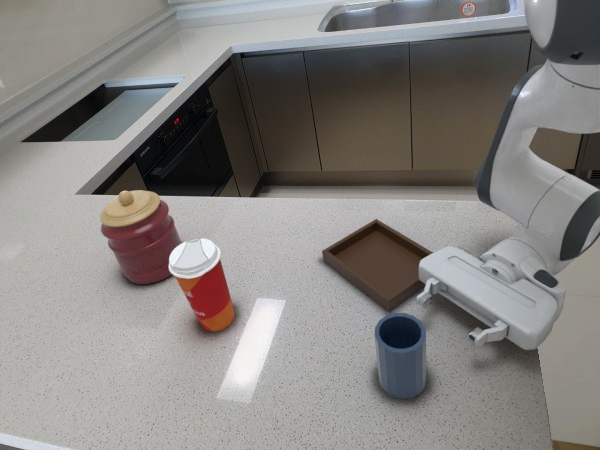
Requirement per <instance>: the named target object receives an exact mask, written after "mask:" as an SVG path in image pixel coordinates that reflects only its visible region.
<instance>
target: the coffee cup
mask: <svg viewBox="0 0 600 450" xmlns="http://www.w3.org/2000/svg"><path fill="white" fill-rule="evenodd" d="M182 242H183V243H182V244H180V245H178V246H177V247H176V248H175V249H174V250H173V251H172V252H171V254H170V257H169V270H170V272H171V273H172V275H173V276H174V277H175V279H176V281H177V283H178V285H179V287H180V289H181V291H182V293H183V294H184V296H185V298H186V300H187V302H188V304H189V306H190V307H191V310H192V311H193V313H194V315H195V317H196V318H197V320H198V322H199V324H200V326H201V327H202V328H203V329H204V330H205V331H207V332H212V333H215V332H220V331H223V330H225V329H226V328H229V326H230V325H231V324H232V323H233V321H234V319H235V309H234V304H233V301H232V297H231V294H230V291H229V290H230V289H229V286H228V282H227V279H226V274H225V272H224V271H225V270H224V268H223V264H222V259H221V257H222V256H221V255H222V253H221V249H220V248H219V246H218V245H216V244H215V243H214V241H212V240H210V239H208V238H203V237H201V238H200V239H198V238H195V239H191V240H190V241H182Z"/></svg>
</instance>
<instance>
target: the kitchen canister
mask: <svg viewBox="0 0 600 450" xmlns="http://www.w3.org/2000/svg"><path fill="white" fill-rule="evenodd" d="M169 211H170V210H169V205H168V203H166V201H164V200H163V199H161V197H160V196H159V194H158V193H156V192H154V191H150V190H143V189H142V190H141V189H138V190H130V191H129V190H123V191H121V192H119V194H118V195H117V196H115V197H114V198H113V199H111V200H110V201H109V202H108V203H107V204H106V206H105V207H104V208H103V210H102V211H101V213H100V215H99V218H100V222H101V225H100V232H101V234H102V235H103V237H104V238H106V239H107V245H108V248H109V249H110V250H111V251H112V253H113V255H114V257H115V259H116V260H117V263H118V264H119V268H120V271H121V273H122V274H123V275H124V277H126V279H127V280H129V281H130V282H131V283H133V284H137V285H149V284H154V283H158V282H161V281H163V280H166V279H167V278H169V277H171V276H172V275H173V274H172V273H171V272H170V270H169V257H170V254H171V252H172V251H173V250H174V249H175V248H176V247H177V246H178V245H180V244H182V243H183V242H184V241H182V239H181V237H180V235H179V232H178V230H177V227H176V225H175V219H174V218H173V216H171V215H170V214H169Z"/></svg>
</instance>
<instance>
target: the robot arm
mask: <svg viewBox="0 0 600 450" xmlns="http://www.w3.org/2000/svg"><path fill="white" fill-rule="evenodd" d="M523 8H524V17H525V20H526V21H525V22H526V24H527V27H528V30H529V33H530V37H531V40H532V44H533V46H534V47H535V49H536V50H537V51H538V52H539V53H540V54H541V55H542V56H544V57H545V58H546V61H545V63H543V64H538V65H535V66H532V68H530V69H529V70H527V72H525V73H524V74H523V76H522V77H521V78H520V79H519V81H518V82H517V83H516V85H514V87H513V89H512V91H511V92H510V95H509V96H508V98H507V101H506V104H505V105H504V109H503V111H502V114H501V116H500V119H499V122H498V124H497V127H496V130H495V133H494V136H493V139H492V142H491V144H490V147H489V149H488V153H487V155H486V157H485V158H484V160H483V163H482V164H481V165H480V167H479V169H478V171H477V173H476V176H475V183H474V184H475V190H476V195H477V197H478V200H479V201H480V202H481V203H483V204H485V205H487V206H488V207H490V208H492V209H494V210H496V211H498V212H501V213H502V214H503V215H505V216H507V217H508V218H510V219H512V220H513V221H515V222H517V223H518V224H519V225H520V226H521V225H522V226H521V227H519V228H518V229H517V230H515V232H514V233H513V235H512V236H511V237H507V238H504V239H502V240H501V241H499V242H498V243H497V244H495V245H494V246H492V247H491V248H490V249H488V250H487V251H486V252H484V253H483V254H482V255H481V254H480V256H479V255H477V254H475V253H473V252H470V251H468V250H467V249H466V248H464V247H462V246H451V245H448V246H447V245H446V246H445V247H444V248H441V249H439V250H437V251H434V252H433V253H432V254H430V255H429V256H427V257H425V258H423V259H422V260H421V261H420V262H419V270H418V271H419V279H420V281H422V282H423V283H425V284H426V286H425V287H424V288H423V291H422V292H421V293H419V294H417V296H416V298H415V303H416V304H417V305H418V306H419V307H421V308H422V309H424V310H426V309H427V308H428V307H430V306H431V305H432V304H433V300H432V299H433V295H436V294H437V293H438V294H440V295H441V296H443V297H444V298H446V299H447V300H449V301H450V302H451V303H453V304H455V305H456V306H458V307H459V308H461V309H463V311H465V312H467V313H468V314H470V315H472V316H473V317H475V318H476V319H477V320H479V321H481V322H482V323H483V324H485V325H486V326H488V327H489V328H486V329H482V328H480V327H479V326H476V328H474V330H472V331H471V332H470V333H469V335H468V342H469V343H471V344H472V345H473V346H474V347H476V348H480V347H481V346H483V345H484V344H485V343H492V342H500V341H502V340H504V339H505V338H506V339H507V340H509V341H510V342H512V343H513V344H515V345H516V346H518V347H519V348H521V349H523V350H525V351H531V350H536V349H538V348H539V347H540V346H541V345H542V344H543V343H544V342H545V340H546V339H547V338H548V337H549V336H550V334H551V333H552V331H553V327H554V324H555V323H556V322H557V321H558V319H559V318H560V316H561V314H562V311H563V308H564V305H565V300H566V294H567V293H566V290H567V288H566V285H565V284H564V283H563V282H561V280H559V279H558V278H557V277H556V276H557V275H558V274H560V273H561V272H562V271H563V270H564V269H565V268H567V267H568V266H569V265H570V264H571V263H572V262H574V261H575V259H576V258H579V257H580V256H582V254H584V253H585V252H587V251H588V250H589V249H590V248H591V247H592V246H593V245H594V244H595V243H596V241H597V240H598V239H599V237H600V189H599V188H597V187H595V186H594V185H592V184H590V183H588V182H586V181H585V180H583V179H581V178H579V177H577V176H575V175H573V174H571V173H569V172H567V171H565V170H563V169H561V168H559V167H557V166H555V165H554V164H551V163H550V162H548V161H546V160H544V159H542V158H540V157H539V156H538V155H537V154H536V153H534V152H533V151H532V150H531V148H530V145H531V143H532V140H533V139H534V136H535V134H536V132H537V130H538V128H539V129H540V128H541V129H550V130H555V131H559V132H565V133H570V134H578V135H579V134H582V135H585V134H586V135H587V134H596V133H600V0H523ZM555 275H556V276H555Z"/></svg>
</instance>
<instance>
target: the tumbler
mask: <svg viewBox="0 0 600 450" xmlns="http://www.w3.org/2000/svg"><path fill="white" fill-rule="evenodd" d="M374 345H375V354H376V355H375V356H376V364H377V365H376V366H377V374H378V375H377V376H378V380H379V381H378V382H379V384H380V386H381V388H382V390H383V391H384V392H385V393H386V394H387V395H388V396H390V397H393V398H395V399H399V400H410V399H412V398H415V397H417V396H418V395H420V394H421V393H422V392H423V391H424V390H425V386H426V383H427V329H426V327H425V325H424V323H423V322H422V321H421V320H420V319H419V318H417V317H416V316H414V315H413V314H409V313H405V312H393V313H390V314H387V315H385V316H383V317H382V318H380V319H379V320H378V322H377V323H376V325H375V326H374Z"/></svg>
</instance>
